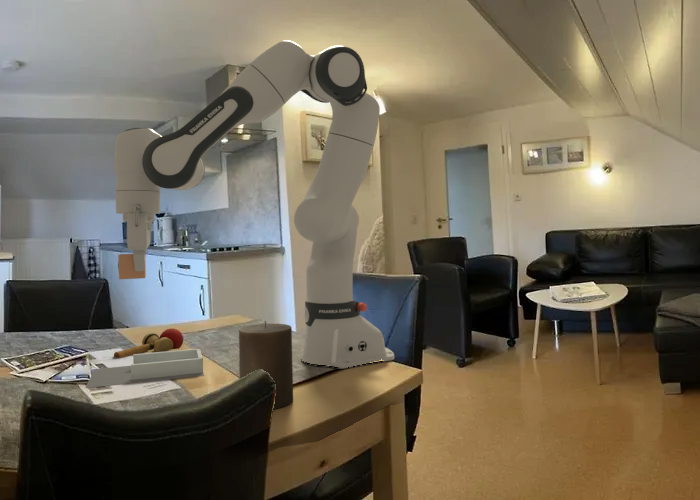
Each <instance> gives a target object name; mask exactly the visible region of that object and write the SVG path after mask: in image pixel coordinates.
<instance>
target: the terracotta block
mask: <svg viewBox="0 0 700 500" xmlns="http://www.w3.org/2000/svg"><path fill="white" fill-rule="evenodd" d="M146 267H147V266H146V257H145V254H144V270H143V271H135V263H134V256H133V253H121V254H119V255H118V280H135V279H137V280H139V279H140V280H141V279H146V277H147V273H146V272H147V271H146V269H147V268H146Z"/></svg>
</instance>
